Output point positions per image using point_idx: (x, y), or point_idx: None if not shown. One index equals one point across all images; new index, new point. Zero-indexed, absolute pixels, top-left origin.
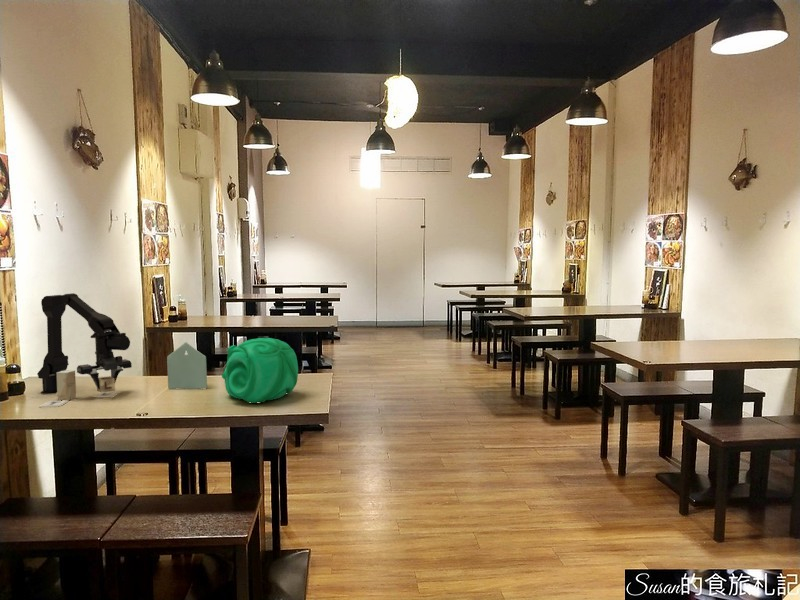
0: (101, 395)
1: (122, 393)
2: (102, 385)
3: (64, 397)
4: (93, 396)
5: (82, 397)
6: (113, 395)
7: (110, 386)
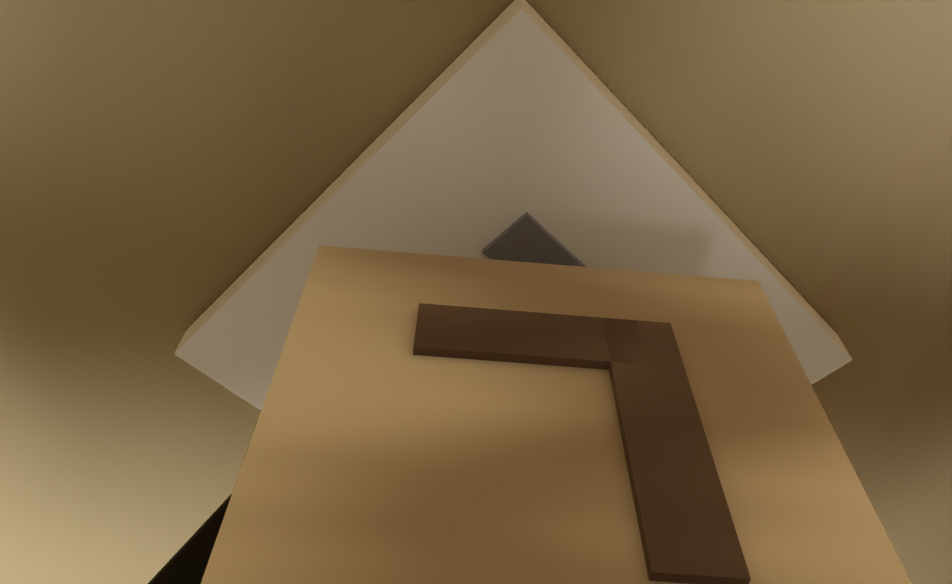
0: None
1: (115, 238)
2: (796, 460)
3: None
4: (848, 358)
5: (893, 529)
6: (428, 95)
7: (453, 367)
